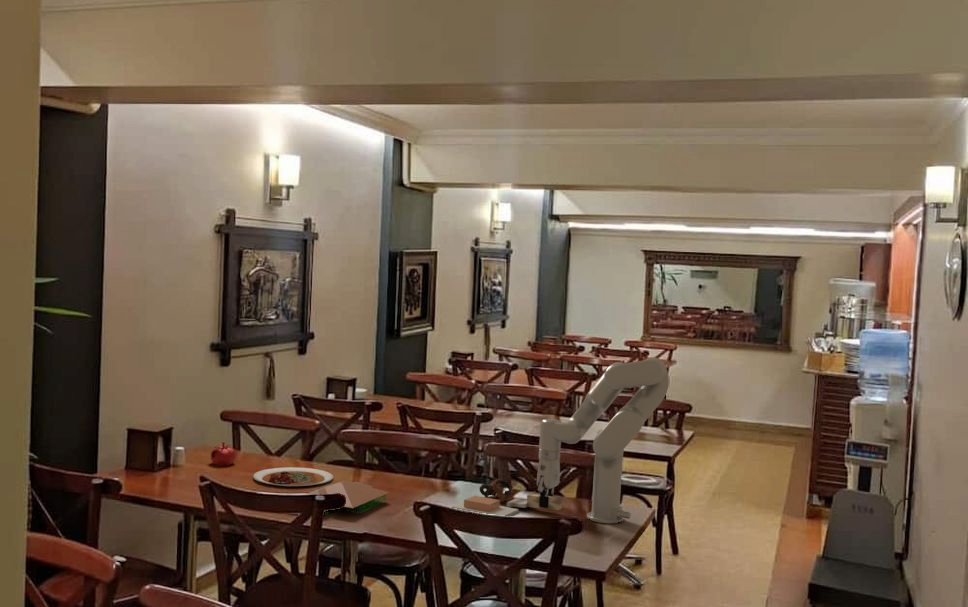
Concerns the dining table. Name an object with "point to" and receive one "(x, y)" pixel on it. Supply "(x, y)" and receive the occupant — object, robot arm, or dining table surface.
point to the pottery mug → (496, 489)
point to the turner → (537, 502)
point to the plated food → (291, 476)
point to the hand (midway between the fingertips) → (545, 505)
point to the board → (498, 511)
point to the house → (354, 493)
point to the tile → (481, 503)
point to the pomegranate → (223, 455)
